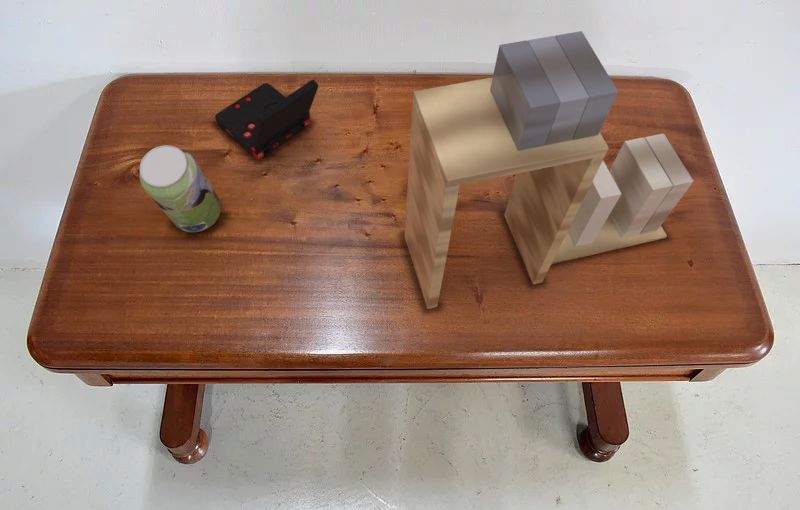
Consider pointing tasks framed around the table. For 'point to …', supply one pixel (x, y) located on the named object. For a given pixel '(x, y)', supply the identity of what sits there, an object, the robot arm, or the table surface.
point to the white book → (595, 207)
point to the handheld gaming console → (267, 117)
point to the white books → (637, 197)
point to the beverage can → (179, 188)
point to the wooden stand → (509, 149)
